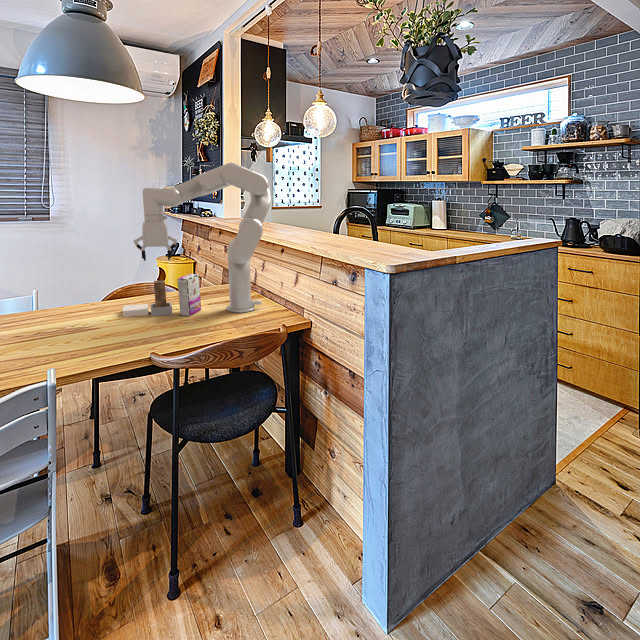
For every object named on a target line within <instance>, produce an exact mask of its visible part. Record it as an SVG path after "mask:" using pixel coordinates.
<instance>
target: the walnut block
mask: <svg viewBox="0 0 640 640" xmlns="http://www.w3.org/2000/svg"><path fill="white" fill-rule="evenodd" d="M153 289H154V290H153V291H154V301H155V302H154V303H155V304H156V308H157V307H167V303H168V302H167V291H166V281H165V280H153Z"/></svg>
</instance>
